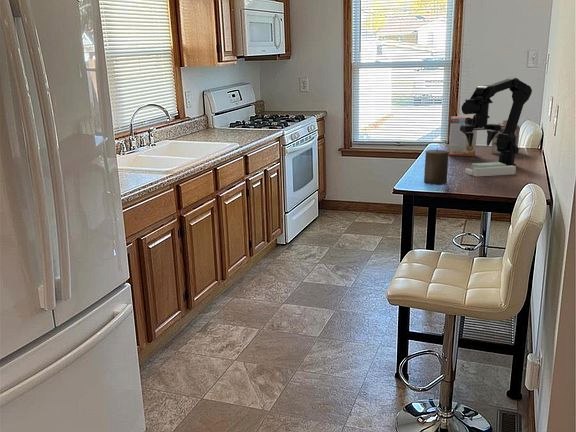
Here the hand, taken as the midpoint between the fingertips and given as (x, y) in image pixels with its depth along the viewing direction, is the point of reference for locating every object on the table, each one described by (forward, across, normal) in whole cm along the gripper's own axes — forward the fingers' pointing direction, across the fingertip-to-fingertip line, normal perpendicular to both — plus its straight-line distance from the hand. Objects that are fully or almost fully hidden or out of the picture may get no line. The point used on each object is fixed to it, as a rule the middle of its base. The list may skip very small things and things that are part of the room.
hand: (478, 146), depth 272 cm
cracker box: (+11, -11, -35) cm, 38 cm away
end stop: (+11, 0, +12) cm, 16 cm away
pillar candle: (+11, +33, +22) cm, 41 cm away
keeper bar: (+11, 0, +10) cm, 15 cm away
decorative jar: (+11, -37, -35) cm, 52 cm away
